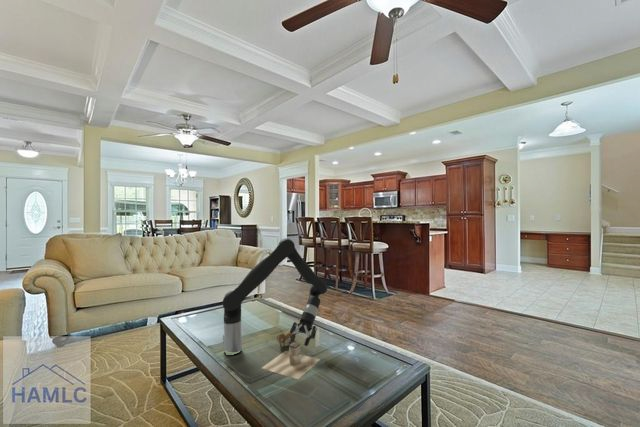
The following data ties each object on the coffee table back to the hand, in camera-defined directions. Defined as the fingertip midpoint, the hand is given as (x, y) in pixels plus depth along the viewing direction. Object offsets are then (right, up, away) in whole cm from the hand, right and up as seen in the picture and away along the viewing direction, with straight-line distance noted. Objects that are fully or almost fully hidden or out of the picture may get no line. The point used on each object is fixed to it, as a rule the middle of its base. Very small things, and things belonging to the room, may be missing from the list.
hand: (298, 344), depth 149 cm
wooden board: (-3, -8, -4) cm, 10 cm away
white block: (-1, -8, -3) cm, 9 cm away
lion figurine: (-8, -9, +17) cm, 21 cm away
